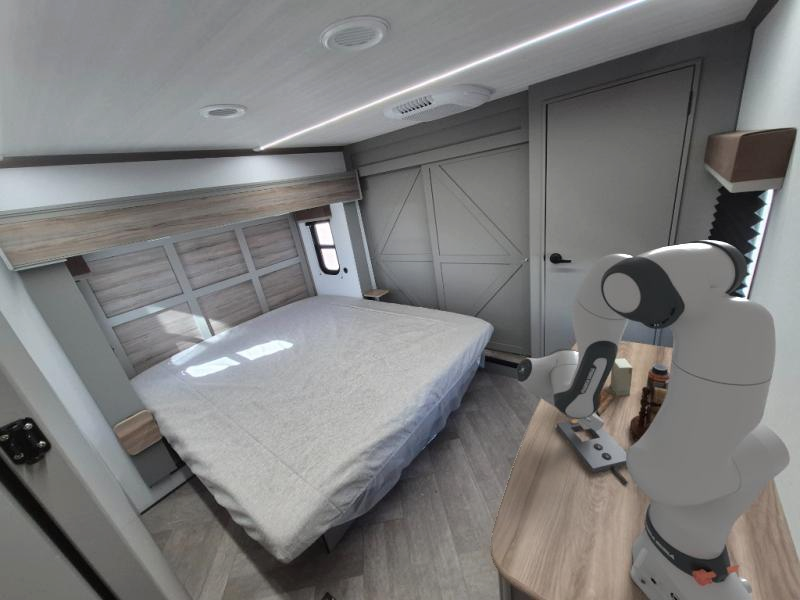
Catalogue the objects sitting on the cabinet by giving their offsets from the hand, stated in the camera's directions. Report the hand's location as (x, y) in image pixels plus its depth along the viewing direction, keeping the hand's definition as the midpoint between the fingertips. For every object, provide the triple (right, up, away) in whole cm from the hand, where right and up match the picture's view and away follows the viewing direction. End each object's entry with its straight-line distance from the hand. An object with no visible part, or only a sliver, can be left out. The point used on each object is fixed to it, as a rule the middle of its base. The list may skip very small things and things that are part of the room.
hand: (588, 410), depth 96 cm
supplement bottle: (+34, +1, +16) cm, 38 cm away
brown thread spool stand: (+22, -8, -1) cm, 23 cm away
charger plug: (0, -5, +2) cm, 5 cm away
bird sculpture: (+11, -3, +18) cm, 21 cm away
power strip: (+2, -12, -1) cm, 12 cm away
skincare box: (+24, +1, +20) cm, 31 cm away
